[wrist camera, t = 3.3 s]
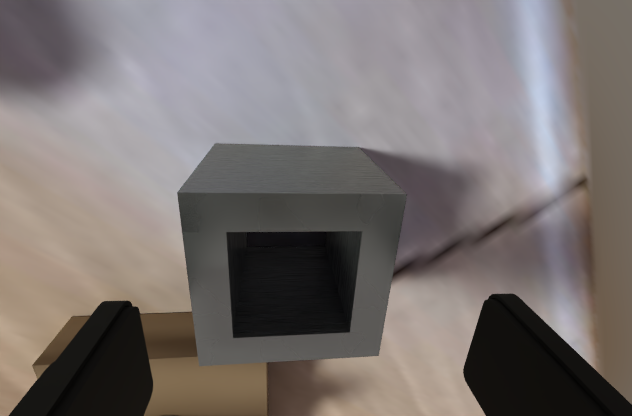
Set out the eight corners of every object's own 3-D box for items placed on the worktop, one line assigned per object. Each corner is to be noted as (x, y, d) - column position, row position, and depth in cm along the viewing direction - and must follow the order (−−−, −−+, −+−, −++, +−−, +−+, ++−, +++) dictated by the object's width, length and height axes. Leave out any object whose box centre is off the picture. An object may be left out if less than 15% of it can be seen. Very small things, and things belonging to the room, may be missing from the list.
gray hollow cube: (215, 143, 14) (177, 192, 9) (358, 147, 15) (406, 194, 9) (223, 267, 17) (199, 365, 11) (346, 264, 17) (378, 355, 12)
